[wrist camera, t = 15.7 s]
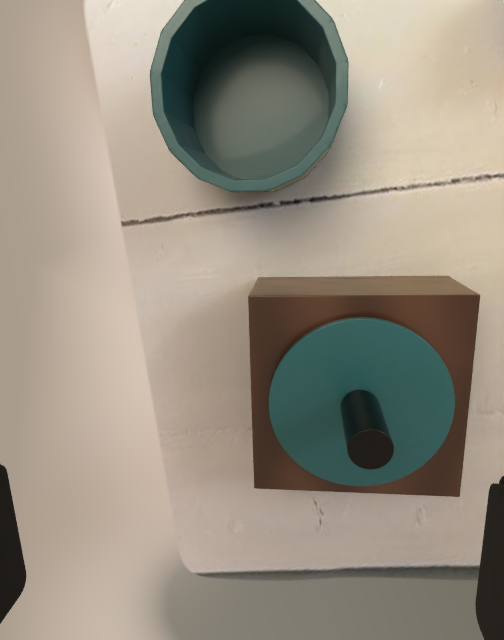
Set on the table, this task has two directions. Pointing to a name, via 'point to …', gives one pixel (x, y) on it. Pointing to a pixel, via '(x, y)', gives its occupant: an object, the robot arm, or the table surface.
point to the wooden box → (348, 302)
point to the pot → (249, 90)
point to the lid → (361, 401)
